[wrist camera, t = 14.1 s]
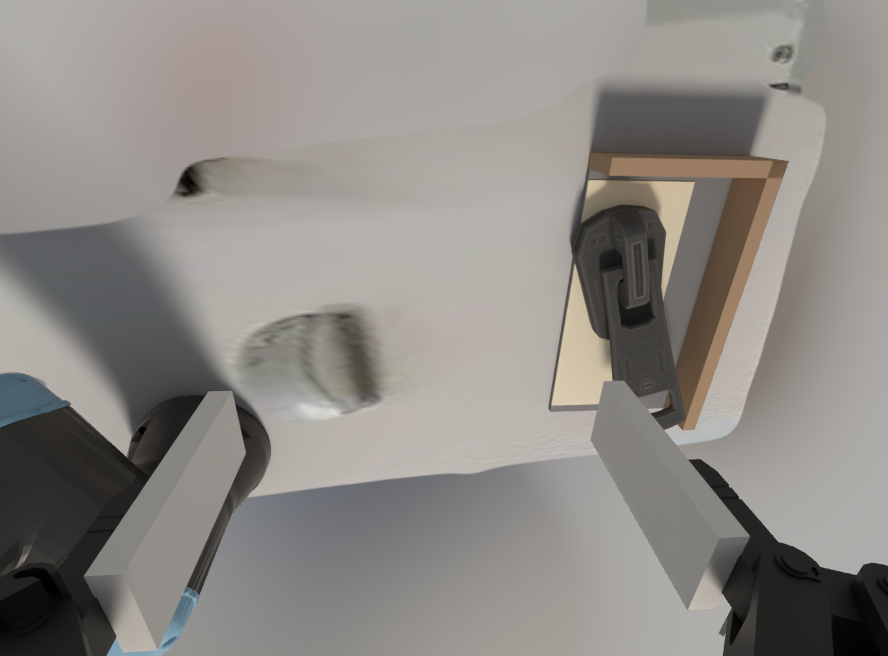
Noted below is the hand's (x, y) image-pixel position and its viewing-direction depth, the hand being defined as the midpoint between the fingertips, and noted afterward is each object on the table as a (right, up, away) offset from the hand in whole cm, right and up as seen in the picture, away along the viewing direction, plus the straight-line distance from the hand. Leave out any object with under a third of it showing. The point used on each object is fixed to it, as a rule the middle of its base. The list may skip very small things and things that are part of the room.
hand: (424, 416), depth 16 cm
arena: (+22, +6, +35) cm, 42 cm away
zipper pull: (+21, +5, +35) cm, 41 cm away
